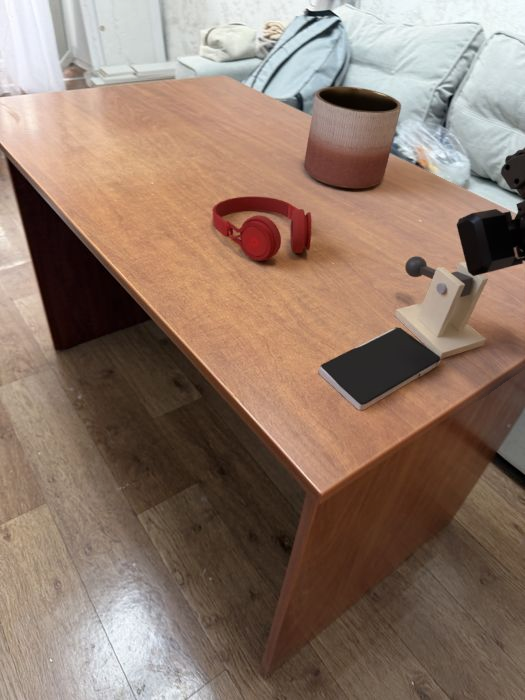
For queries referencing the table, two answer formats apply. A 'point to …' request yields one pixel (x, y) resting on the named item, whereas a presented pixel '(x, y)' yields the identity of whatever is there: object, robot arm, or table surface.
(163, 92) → the table surface
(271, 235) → the headphones
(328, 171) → the planter
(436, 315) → the switch unit
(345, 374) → the smartphone
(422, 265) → the switch lever
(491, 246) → the robot arm
